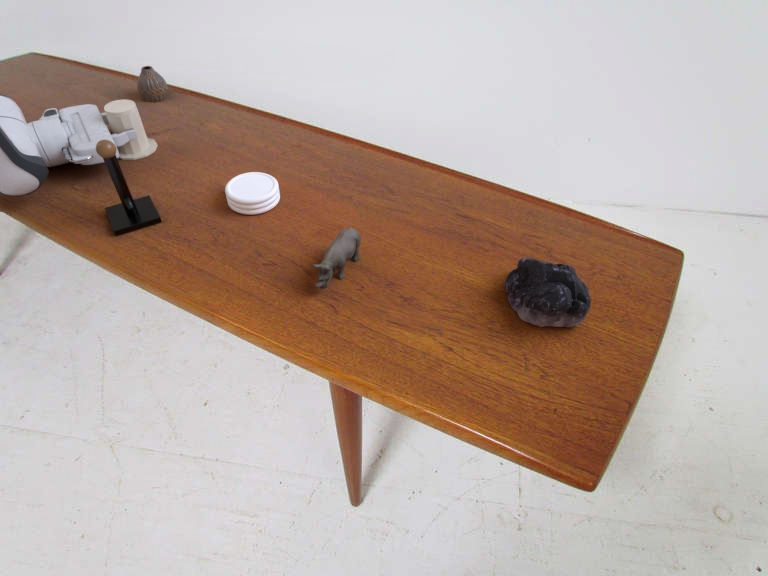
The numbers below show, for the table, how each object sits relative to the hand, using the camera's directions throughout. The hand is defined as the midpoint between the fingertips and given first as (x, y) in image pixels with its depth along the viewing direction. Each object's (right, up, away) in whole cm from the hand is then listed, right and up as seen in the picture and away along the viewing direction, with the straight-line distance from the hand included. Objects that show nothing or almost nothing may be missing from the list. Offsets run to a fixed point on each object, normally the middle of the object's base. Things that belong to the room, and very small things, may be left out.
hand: (131, 124), depth 105 cm
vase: (-3, +11, +19) cm, 23 cm away
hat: (-1, -4, +4) cm, 6 cm away
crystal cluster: (+79, -37, -26) cm, 91 cm away
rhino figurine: (+46, -32, -22) cm, 60 cm away
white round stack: (+28, -18, -9) cm, 34 cm away
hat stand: (+7, -22, -13) cm, 26 cm away
